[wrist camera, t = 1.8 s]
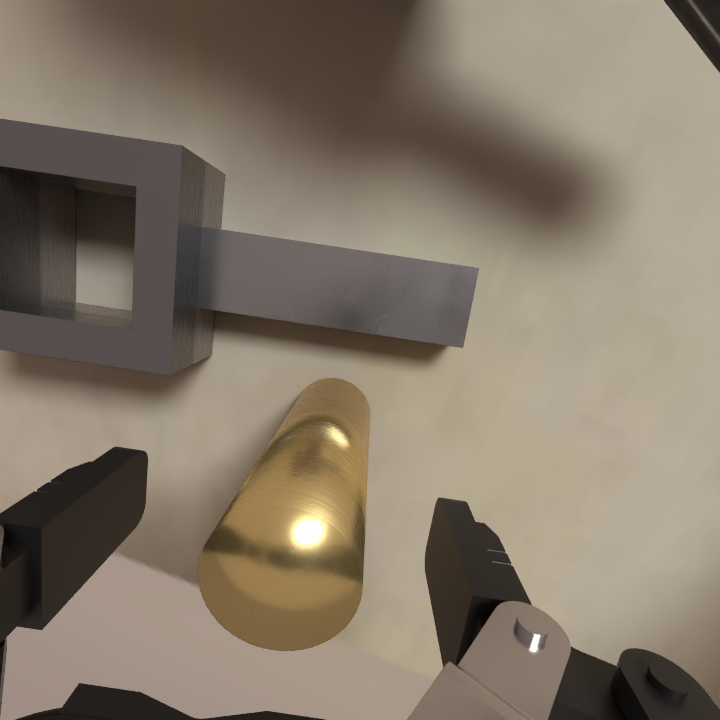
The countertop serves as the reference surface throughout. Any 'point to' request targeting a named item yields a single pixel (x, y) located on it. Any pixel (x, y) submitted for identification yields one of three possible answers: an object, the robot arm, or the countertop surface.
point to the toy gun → (701, 24)
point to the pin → (296, 528)
